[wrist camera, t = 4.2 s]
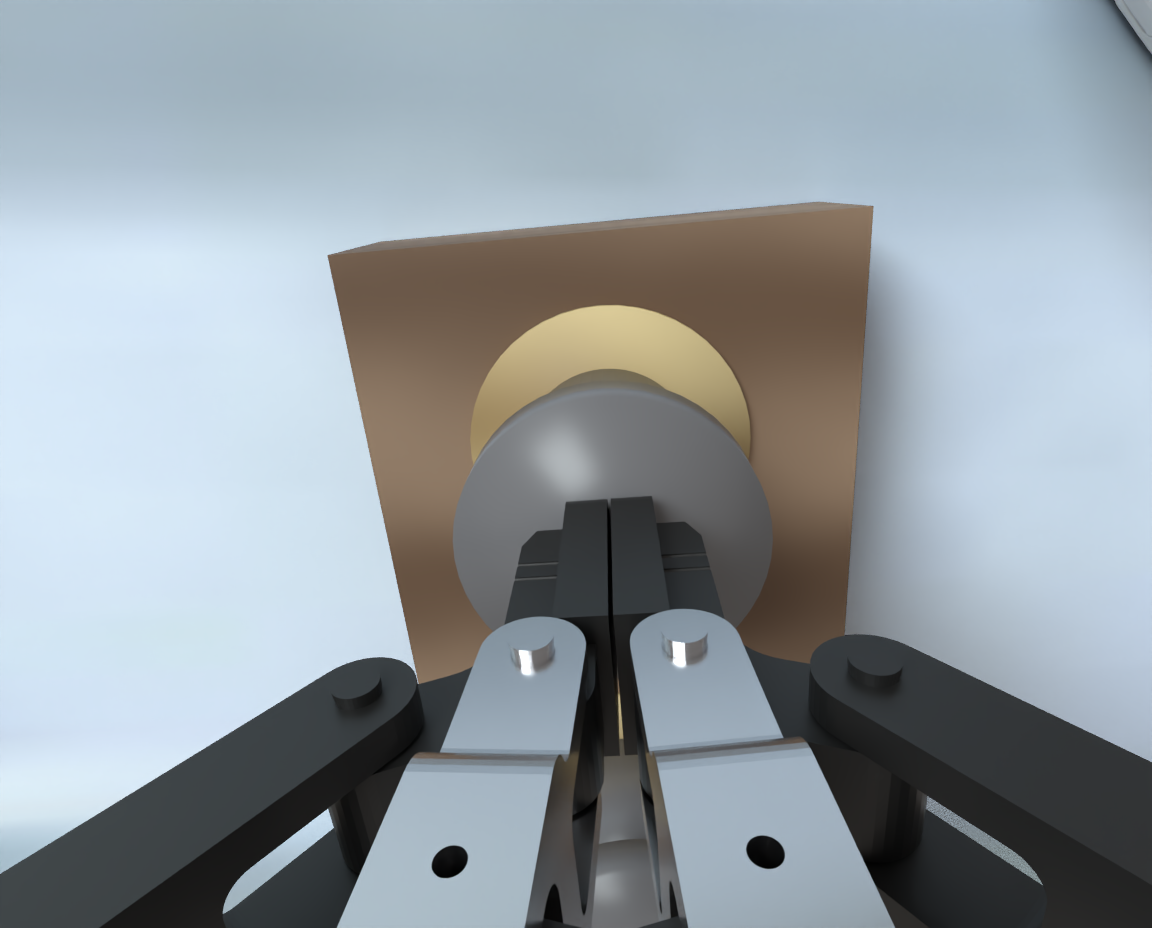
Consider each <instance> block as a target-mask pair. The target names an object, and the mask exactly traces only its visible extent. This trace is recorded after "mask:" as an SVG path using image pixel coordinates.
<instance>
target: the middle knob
mask: <svg viewBox="0 0 1152 928" xmlns="http://www.w3.org/2000/svg"><path fill="white" fill-rule="evenodd" d="M601 796H602V817H601V828H600V839H599V850H598V861H597V872H596V883H595V894H594V905H593V915H592V926H591V928H639V927H642V926H646V925H649V924H653V923H656V922H659V917H658V911H657V904H656V898H655V891H654V884H653V878H652V871H651V865H650V858H649V851H648V845H647V838H646V832H645V825H644V819H643V812H642V803H641V789H640V775H639V763H638V755H625V753H624V740H623V739H620V756H604V782H603V785H602V788H601Z"/></svg>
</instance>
